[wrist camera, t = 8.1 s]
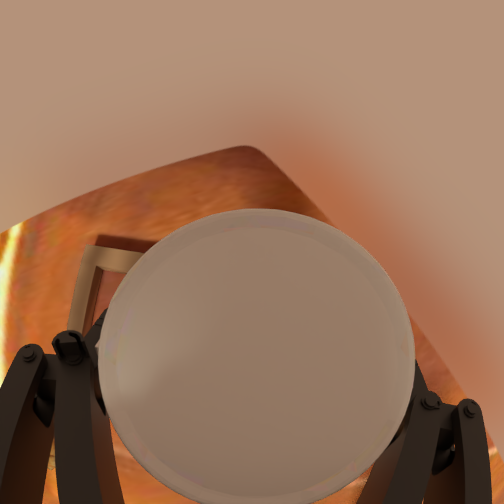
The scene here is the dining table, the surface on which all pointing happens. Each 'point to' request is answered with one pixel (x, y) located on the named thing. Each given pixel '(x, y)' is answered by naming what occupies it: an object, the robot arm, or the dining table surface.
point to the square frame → (95, 281)
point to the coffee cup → (256, 359)
